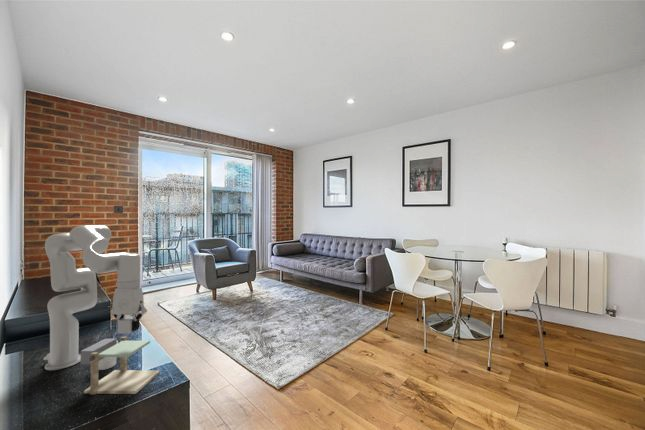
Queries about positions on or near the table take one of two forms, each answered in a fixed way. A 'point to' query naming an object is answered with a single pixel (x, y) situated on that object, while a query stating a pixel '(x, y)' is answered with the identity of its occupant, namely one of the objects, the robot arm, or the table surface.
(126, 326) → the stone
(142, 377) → the frame
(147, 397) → the table surface
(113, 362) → the white cup
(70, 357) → the robot arm
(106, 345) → the trapdoor
